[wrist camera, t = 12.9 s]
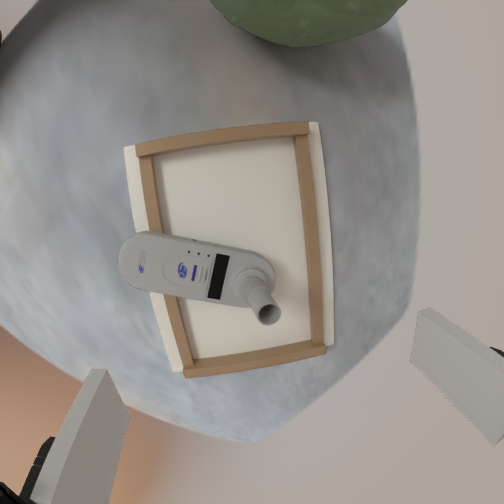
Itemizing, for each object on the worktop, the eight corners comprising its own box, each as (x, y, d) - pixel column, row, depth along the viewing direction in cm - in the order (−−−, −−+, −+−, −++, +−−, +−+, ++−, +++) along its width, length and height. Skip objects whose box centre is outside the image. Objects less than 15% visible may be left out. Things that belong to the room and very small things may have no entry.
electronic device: (96, 243, 16) (313, 284, 20) (128, 224, 25) (274, 254, 29) (91, 317, 17) (293, 349, 21) (121, 276, 26) (262, 302, 30)
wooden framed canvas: (125, 148, 25) (116, 145, 23) (315, 122, 27) (324, 117, 24) (174, 368, 32) (171, 382, 29) (331, 341, 33) (339, 352, 31)
